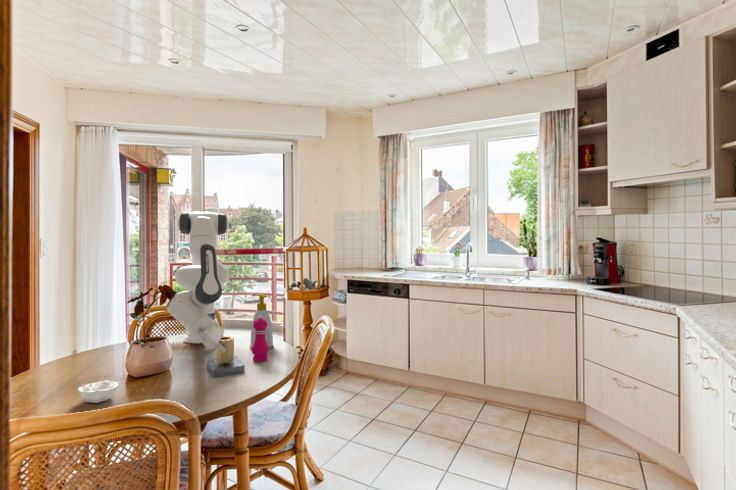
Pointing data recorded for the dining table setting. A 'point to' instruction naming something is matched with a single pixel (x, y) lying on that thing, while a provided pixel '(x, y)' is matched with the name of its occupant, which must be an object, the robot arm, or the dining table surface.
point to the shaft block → (225, 367)
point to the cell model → (98, 391)
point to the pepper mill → (260, 340)
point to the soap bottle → (265, 315)
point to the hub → (229, 353)
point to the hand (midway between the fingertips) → (226, 348)
